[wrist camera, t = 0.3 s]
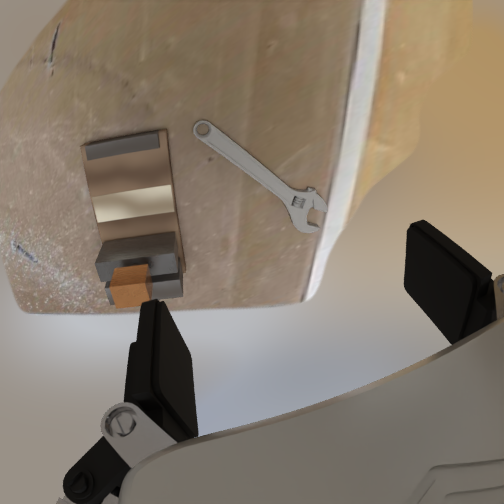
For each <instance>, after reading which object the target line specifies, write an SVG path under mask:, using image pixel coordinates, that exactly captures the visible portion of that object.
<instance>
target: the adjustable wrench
mask: <svg viewBox="0 0 504 504" xmlns="http://www.w3.org/2000/svg"><path fill="white" fill-rule="evenodd" d="M200 124H206V125H208V127H209V132H208V133H207V134H206V135H200V134H198V132H197V127H198V126H199V125H200ZM193 131H194V135H195V136H196V137H197V138H198V139H200V140H201V141H203V142H204V143H205V144H207V145H208V146H210V147H211V148H212V149H214V150H215V151H217V152H218V153H219V154H221V155H222V156H224V157H225V158H226V159H228V160H229V161H231V162H232V163H233V164H235V165H236V166H237V167H239V168H240V169H242V170H243V171H244V172H246V173H247V174H248V175H250V176H251V177H252V178H254V179H255V180H256V181H258V182H259V183H260V184H262V185H263V186H264V187H266V188H267V189H268V190H270V191H271V192H272V193H274V194H275V195H276V196H278V197H279V198H280V199H281V200H282V201H283V202H284V204H285V206H286V208H287V210H288V213H289V215H290V218H291V221H292V223H293V224H294V226H295V227H296V228H297V229H298V230H299V231H301V232H304V233H313V232H316V231H318V230H319V229H320V227H319V226H318V225H317V224H313V223H309V222H307V218H306V216H307V214H308V211H309V209H310V208H312V207H313V208H314V209H316V210H319V211H323V212H326V213H327V211H328V209H327V205H326V203H325V201H324V200H323V199H322V198H321V197H320V196H319V195H318V194H317V193H316V191H317V190H316V189H315V188H310V187H308V188H307V190H298V189H293V188H291V187H289V186H288V185H286V184H285V183H284V182H283V181H282V180H280V179H279V178H278V177H277V176H276V175H274V174H273V173H272V172H271V171H270V170H269V169H267V168H266V167H265V166H264V165H262V164H261V163H260V162H259V161H258V160H256V159H255V158H254V157H253V156H252V155H250V154H249V153H248V152H247V151H245V150H244V149H243V148H242V147H240V146H239V145H238V144H237V143H235V142H234V141H233V140H232V139H230V138H229V137H228V136H227V135H225V134H224V133H223V132H221V131H220V130H219V129H218V128H216V127H215V126H214V125H212V124H211V123H210V122H208V121H206V120H200V121H198V122H197V123H196V124H195V125H194V128H193ZM295 196H296V197H295ZM293 198H295V199H293ZM293 200H294V201H293ZM292 203H293V204H292Z"/></svg>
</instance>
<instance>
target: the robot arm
mask: <svg viewBox="0 0 504 504" xmlns="http://www.w3.org/2000/svg"><path fill="white" fill-rule="evenodd" d="M491 276H492V273H491V272H490V271H489V270H488V269H487V268H486V267H484V266H483V265H482V264H481V263H479V262H478V261H477V260H476V259H475V258H474V257H472V256H471V255H470V254H469V253H467V252H466V251H465V250H464V249H462V248H461V247H460V246H458V245H457V244H456V243H455V242H453V241H452V240H451V239H450V238H448V237H447V236H446V235H444V234H443V233H442V232H440V231H439V230H438V229H436V228H435V227H434V226H432V225H431V224H430V223H428V222H427V221H425V220H421V221H417V222H414V223H412V224H411V225H410V227H409V228H408V230H407V241H406V259H405V274H404V287H405V290H406V291H407V293H408V294H409V295H410V296H411V297H412V298H413V300H414V301H415V302H416V303H417V304H418V305H419V306H420V308H421V309H422V310H423V311H424V312H425V313H426V314H427V316H428V317H429V318H430V319H431V320H432V322H433V323H434V324H435V325H436V326H437V327H438V329H439V330H440V331H441V332H442V333H443V335H444V336H445V337H446V338H447V340H448V341H449V342H450V343H451V344H452V345H451V346H449V347H447V348H445V349H443V350H441V351H440V352H438V353H436V354H434V355H432V356H430V357H428V358H426V359H423V360H421V361H419V362H417V363H415V364H413V365H411V366H409V367H407V368H405V369H402V370H400V371H398V372H396V373H393V374H391V375H389V376H387V377H384V378H382V379H380V380H377V381H375V382H372V383H370V384H367V385H366V386H363V387H360V388H358V389H355V390H353V391H350V392H347V393H344V394H342V395H339V396H336V397H334V398H331V399H328V400H325V401H322V402H320V403H317V404H314V405H311V406H308V407H305V408H302V409H298V410H296V411H292V412H289V413H286V414H282V415H279V416H276V417H272V418H268V419H265V420H261V421H258V422H255V423H251V424H247V425H243V426H239V427H236V428H232V429H227V430H223V431H219V432H215V433H211V434H208V435H204V436H200V437H198V424H197V414H196V404H195V393H194V381H193V368H192V358H191V354H190V352H189V350H188V347H187V346H186V344H185V342H184V340H183V338H182V336H181V334H180V332H179V330H178V328H177V326H176V324H175V322H174V320H173V318H172V316H171V314H170V312H169V310H168V308H167V306H166V304H165V302H164V301H161V302H159V300H158V299H153V300H149V301H146V302H142V304H141V309H140V316H139V325H138V333H137V340H136V342H133V343H131V345H130V349H129V357H128V365H127V375H126V383H125V394H124V403H119V404H117V405H114V406H113V407H111V408H110V409H109V410H108V411H107V412H106V413H105V415H104V416H103V418H102V421H101V432H102V434H103V435H104V436H103V437H102V438H101V439H100V440H99V441H98V442H97V443H96V444H95V445H94V446H93V447H92V448H91V449H90V450H89V451H88V452H87V453H86V454H85V455H84V456H83V457H82V458H81V459H80V460H79V461H78V462H77V463H76V464H75V465H74V466H73V467H72V468H71V469H70V470H69V471H68V472H67V474H66V475H65V477H64V480H63V489H64V493H65V496H64V498H63V499H61V498H59V499H58V501H57V503H56V504H504V274H502V275H499V276H498V277H496V278H495V280H494V281H493V280H492V279H491ZM194 437H196V438H194Z"/></svg>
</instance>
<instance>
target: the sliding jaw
mask: <svg viewBox="0 0 504 504" xmlns="http://www.w3.org/2000/svg"><path fill="white" fill-rule="evenodd" d="M95 266H96V269H97V272H98V275H99V278H100V281H101V282H105V281H111V282H110V286H109V288H110V291H111V294H112V297H113V300H114V303H115V305H116V308H125V307H135V306H141V304H142V302H146V301H149V300H151V299H152V289H153V283H152V279H151V276H154V275H162V274H170V273H178V245H177V239H176V233H175V232H171V233H164V234H156V235H149V236H141V237H134V238H127V239H120V240H113V241H106V242H104V243H103V245H102V247H101V250H100V252H99V255H98V257H97V259H96V262H95Z"/></svg>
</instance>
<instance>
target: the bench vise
mask: <svg viewBox="0 0 504 504" xmlns="http://www.w3.org/2000/svg"><path fill="white" fill-rule="evenodd" d="M80 147H81V153H82V158H83V164H84V169H85V174H86V179H87V183H88V188H89V192H90V197H91V201H92V205H93V210H94V214H95V218H96V222H97V226H98V229H99V233H100V237H101V241H102V244H103V243H104V242H106V241H113V240H120V239H127V238H134V237H141V236H149V235H156V234H164V233H171V232H175V233H176V239H177V245H178V273H170V274H162V275H154V276H151V279H152V283H153V289H152V299H151V300H153V299H158V300H160V299H168V298H176V297H183V273H186V264H185V259H184V253H183V247H182V240H181V234H180V228H179V221H178V214H177V208H176V201H175V193H174V186H173V178H172V171H171V162H170V154H169V145H168V136H167V129H162V130H155V131H149V132H143V133H136V134H131V135H125V136H119V137H114V138H109V139H104V140H99V141H94V142H89V143H85V144H83V145H82V146H80ZM110 282H111V281H107V282H106V286H105V291H106V294H107V297H108V299H109V302H110V305H115V303H114V300H113V297H112V294H111V291H110V288H109V286H110Z"/></svg>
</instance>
